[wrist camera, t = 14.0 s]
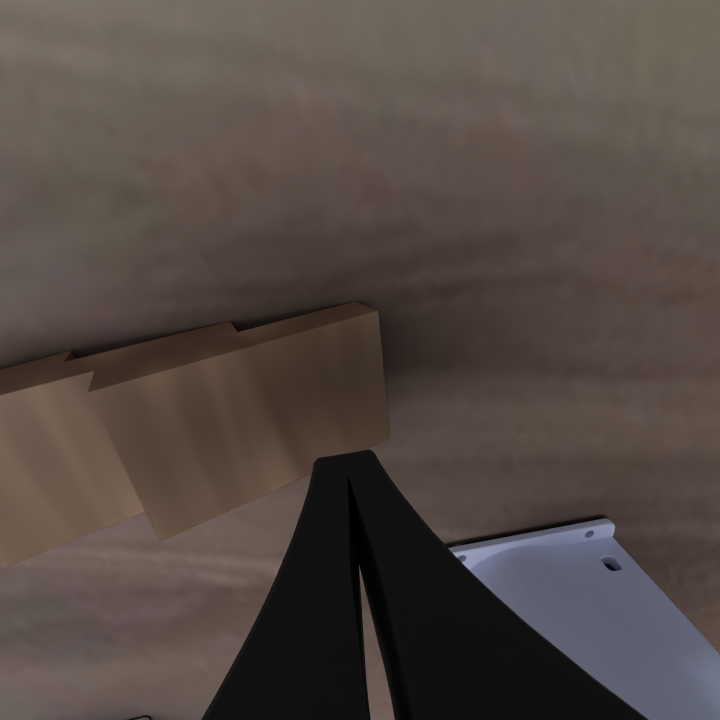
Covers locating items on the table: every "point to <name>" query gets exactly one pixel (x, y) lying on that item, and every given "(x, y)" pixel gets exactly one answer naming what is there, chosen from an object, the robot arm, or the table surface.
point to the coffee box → (144, 719)
